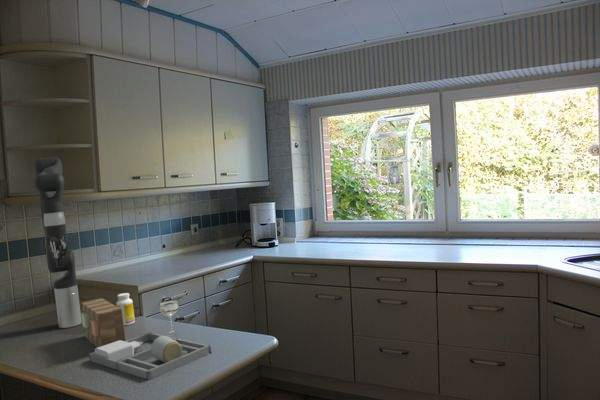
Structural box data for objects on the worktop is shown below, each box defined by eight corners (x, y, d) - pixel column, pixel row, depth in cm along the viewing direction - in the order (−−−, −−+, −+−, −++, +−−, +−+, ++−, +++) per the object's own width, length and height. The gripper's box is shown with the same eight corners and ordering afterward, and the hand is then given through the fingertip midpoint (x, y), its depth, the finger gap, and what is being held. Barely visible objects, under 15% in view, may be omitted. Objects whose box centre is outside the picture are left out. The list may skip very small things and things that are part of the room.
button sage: (82, 325, 198) (81, 313, 198) (95, 322, 201) (94, 310, 201) (85, 328, 194) (84, 315, 194) (99, 324, 197) (97, 312, 197)
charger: (149, 351, 177) (109, 366, 166) (135, 347, 183) (95, 361, 172) (147, 337, 177) (107, 351, 166) (133, 334, 183) (94, 347, 172)
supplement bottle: (137, 321, 218) (134, 291, 218) (131, 325, 212) (127, 295, 211) (123, 322, 219) (119, 292, 219) (116, 326, 213) (112, 296, 212)
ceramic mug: (164, 367, 159) (162, 343, 159) (151, 362, 165) (149, 339, 164) (193, 357, 166) (191, 334, 166) (180, 352, 172) (178, 330, 172)
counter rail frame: (89, 360, 172) (89, 353, 172) (150, 338, 190) (149, 332, 190) (148, 379, 150) (147, 371, 150) (211, 352, 168) (210, 345, 168)
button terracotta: (92, 333, 185) (90, 320, 185) (106, 330, 188) (104, 317, 188) (95, 336, 181) (94, 323, 181) (110, 333, 184) (108, 319, 184)
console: (85, 336, 202) (81, 302, 201) (105, 331, 207) (101, 298, 206) (103, 353, 179) (98, 314, 178) (126, 346, 184) (121, 309, 183)
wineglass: (162, 332, 197) (158, 302, 196) (179, 329, 199) (176, 299, 199) (164, 337, 191) (160, 306, 190) (182, 333, 193) (179, 302, 193)
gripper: (72, 222, 199) (77, 266, 200) (57, 222, 207) (62, 264, 208) (52, 225, 193) (58, 270, 194) (38, 225, 201) (43, 268, 202)
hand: (60, 267), depth 201 cm, fingers closed
